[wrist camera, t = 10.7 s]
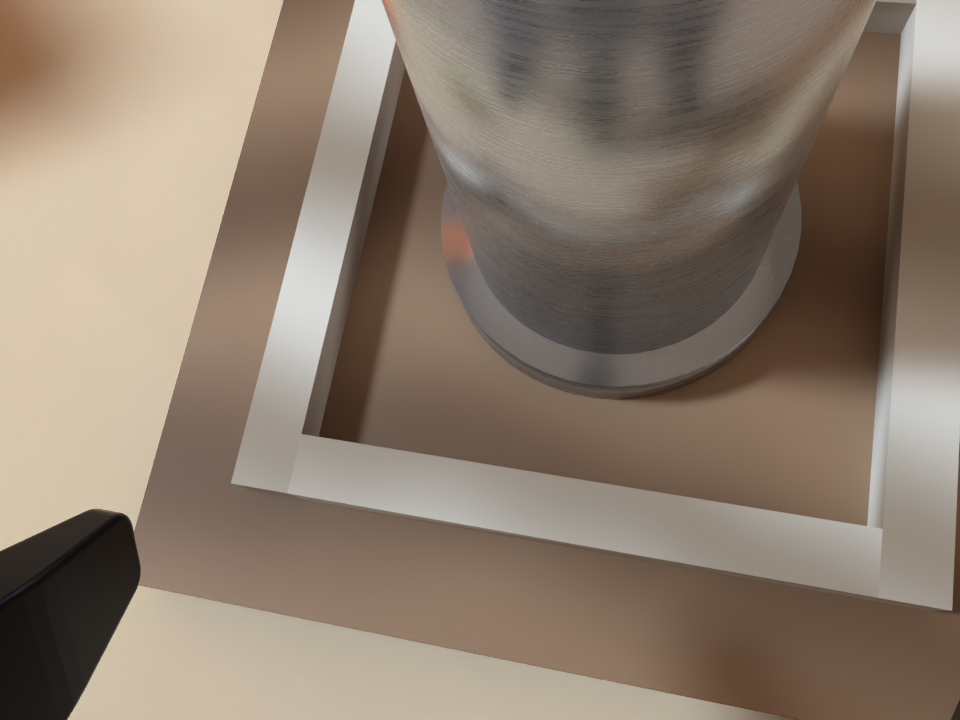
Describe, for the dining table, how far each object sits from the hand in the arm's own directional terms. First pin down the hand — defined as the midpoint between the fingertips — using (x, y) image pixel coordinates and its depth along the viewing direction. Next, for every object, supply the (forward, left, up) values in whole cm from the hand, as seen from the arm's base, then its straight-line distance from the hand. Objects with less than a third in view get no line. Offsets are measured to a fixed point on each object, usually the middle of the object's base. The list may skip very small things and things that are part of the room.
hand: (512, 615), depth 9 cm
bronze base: (+8, +3, -9) cm, 12 cm away
